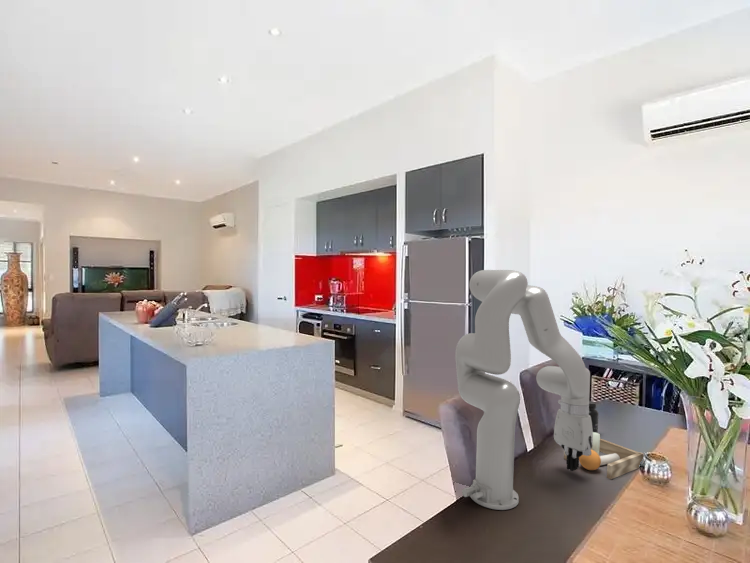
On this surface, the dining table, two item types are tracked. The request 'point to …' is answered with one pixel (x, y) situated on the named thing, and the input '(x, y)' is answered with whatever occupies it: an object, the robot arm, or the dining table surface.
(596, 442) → the back pin
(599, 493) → the dining table surface
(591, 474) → the dining table surface
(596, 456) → the ball
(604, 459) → the front pin
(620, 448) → the u-shaped wooden frame
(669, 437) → the dining table surface
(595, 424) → the supplement bottle
